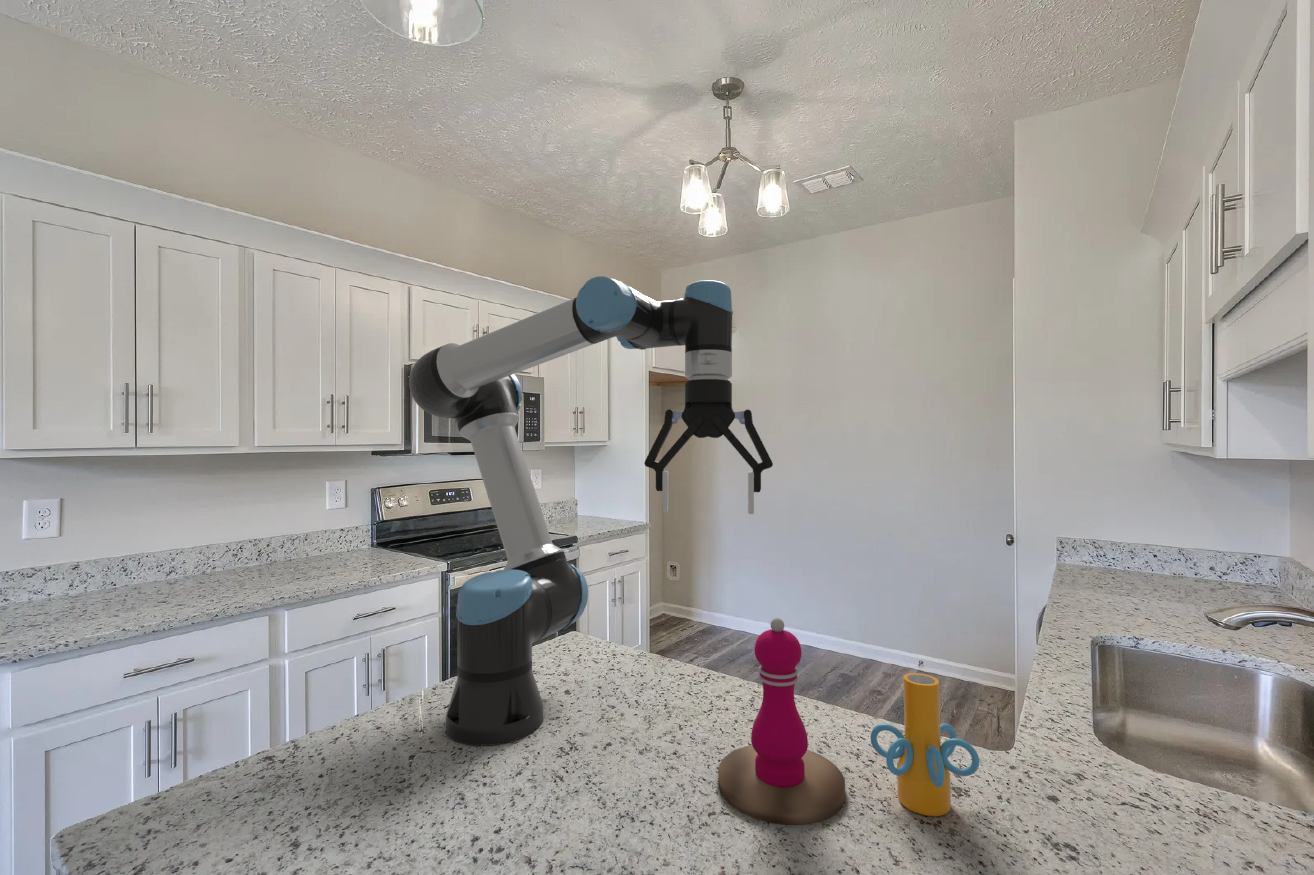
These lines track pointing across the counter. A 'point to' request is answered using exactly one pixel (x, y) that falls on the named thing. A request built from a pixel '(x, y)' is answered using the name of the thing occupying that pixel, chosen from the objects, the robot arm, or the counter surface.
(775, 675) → the pepper mill
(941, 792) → the cylinder
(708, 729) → the counter surface
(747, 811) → the walnut board
